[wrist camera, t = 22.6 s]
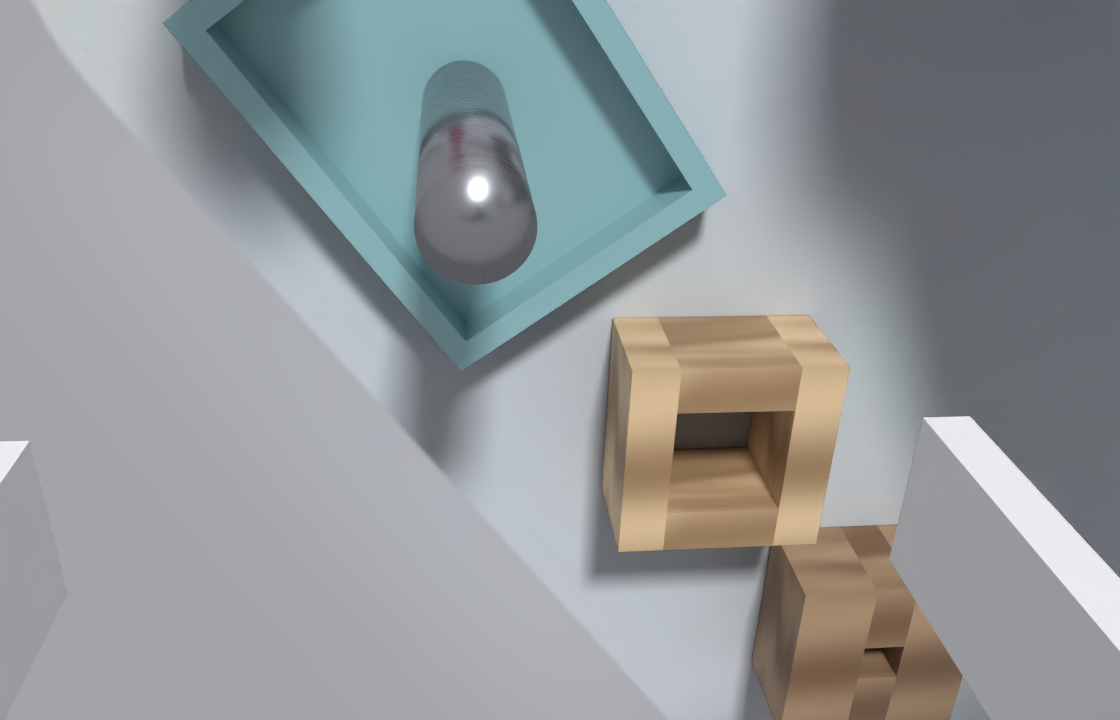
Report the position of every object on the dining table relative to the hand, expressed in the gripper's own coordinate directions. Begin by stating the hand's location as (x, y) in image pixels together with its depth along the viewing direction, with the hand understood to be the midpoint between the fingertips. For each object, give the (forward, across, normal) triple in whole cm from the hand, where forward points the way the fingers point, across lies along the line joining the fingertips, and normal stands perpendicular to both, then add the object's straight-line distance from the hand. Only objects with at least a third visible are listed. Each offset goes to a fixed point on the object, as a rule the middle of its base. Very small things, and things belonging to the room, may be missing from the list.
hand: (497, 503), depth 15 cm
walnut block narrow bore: (+27, +20, -26) cm, 42 cm away
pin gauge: (+26, 0, 0) cm, 26 cm away
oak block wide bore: (+27, +11, -14) cm, 32 cm away
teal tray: (+27, 0, 0) cm, 27 cm away
